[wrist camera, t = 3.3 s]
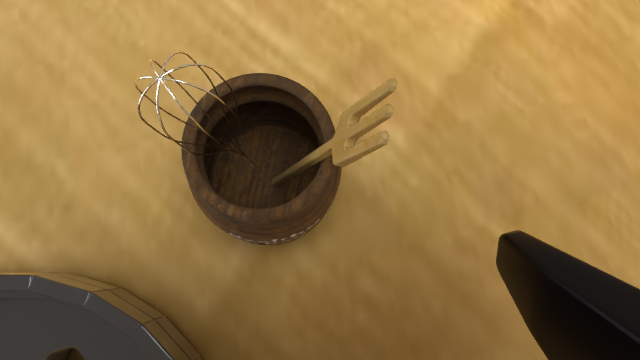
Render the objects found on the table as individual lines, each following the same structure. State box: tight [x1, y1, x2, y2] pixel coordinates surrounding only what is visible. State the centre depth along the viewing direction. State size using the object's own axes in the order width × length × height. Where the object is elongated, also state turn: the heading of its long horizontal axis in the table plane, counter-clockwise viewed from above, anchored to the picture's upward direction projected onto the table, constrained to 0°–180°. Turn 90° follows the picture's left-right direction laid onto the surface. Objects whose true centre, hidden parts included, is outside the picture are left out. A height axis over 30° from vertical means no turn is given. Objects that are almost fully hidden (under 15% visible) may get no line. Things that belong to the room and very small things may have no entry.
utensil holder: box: [134, 51, 397, 245], centre depth 15 cm, size 6×6×12 cm
